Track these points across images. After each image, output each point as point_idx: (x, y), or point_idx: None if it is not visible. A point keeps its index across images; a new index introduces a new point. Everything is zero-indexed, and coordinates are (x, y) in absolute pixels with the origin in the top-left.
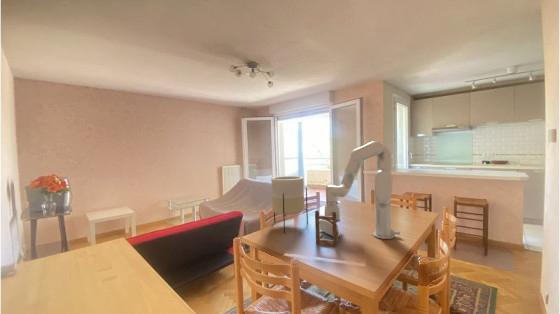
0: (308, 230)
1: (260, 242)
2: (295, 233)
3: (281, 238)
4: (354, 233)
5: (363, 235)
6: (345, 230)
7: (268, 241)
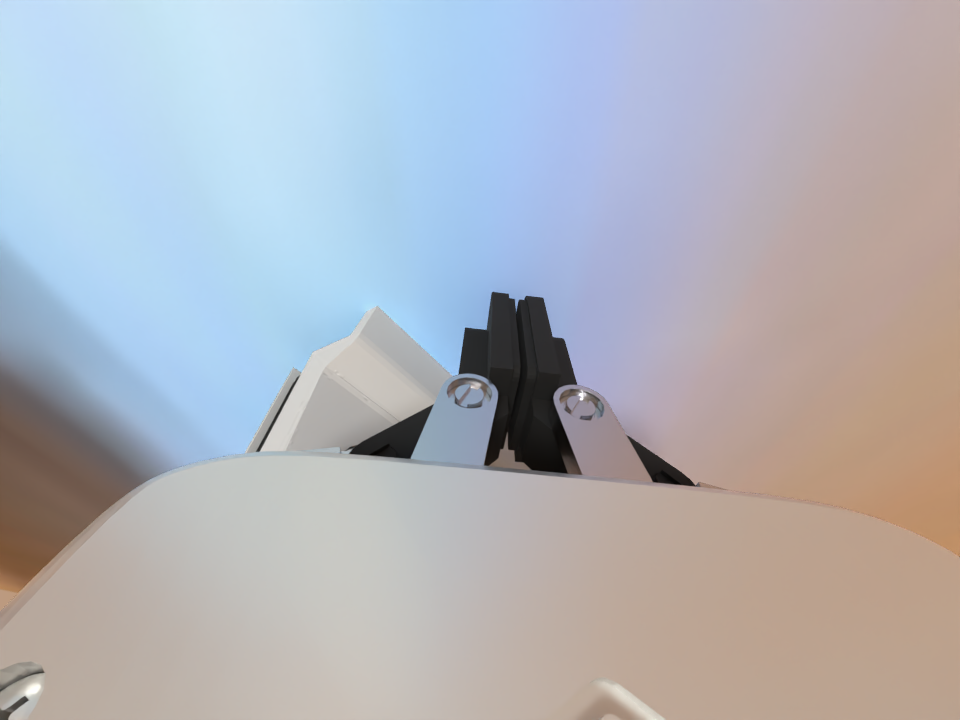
0: (103, 357)
1: (4, 583)
2: (48, 459)
3: (58, 544)
4: (851, 407)
5: (929, 456)
6: (779, 288)
7: (32, 575)
